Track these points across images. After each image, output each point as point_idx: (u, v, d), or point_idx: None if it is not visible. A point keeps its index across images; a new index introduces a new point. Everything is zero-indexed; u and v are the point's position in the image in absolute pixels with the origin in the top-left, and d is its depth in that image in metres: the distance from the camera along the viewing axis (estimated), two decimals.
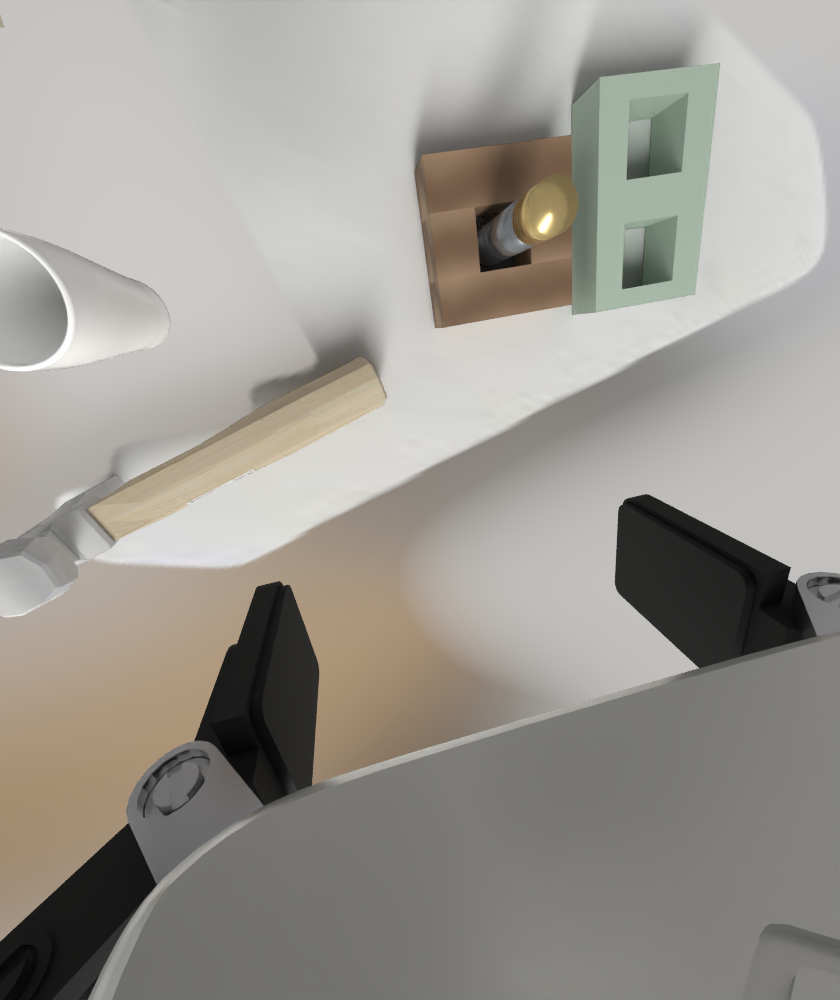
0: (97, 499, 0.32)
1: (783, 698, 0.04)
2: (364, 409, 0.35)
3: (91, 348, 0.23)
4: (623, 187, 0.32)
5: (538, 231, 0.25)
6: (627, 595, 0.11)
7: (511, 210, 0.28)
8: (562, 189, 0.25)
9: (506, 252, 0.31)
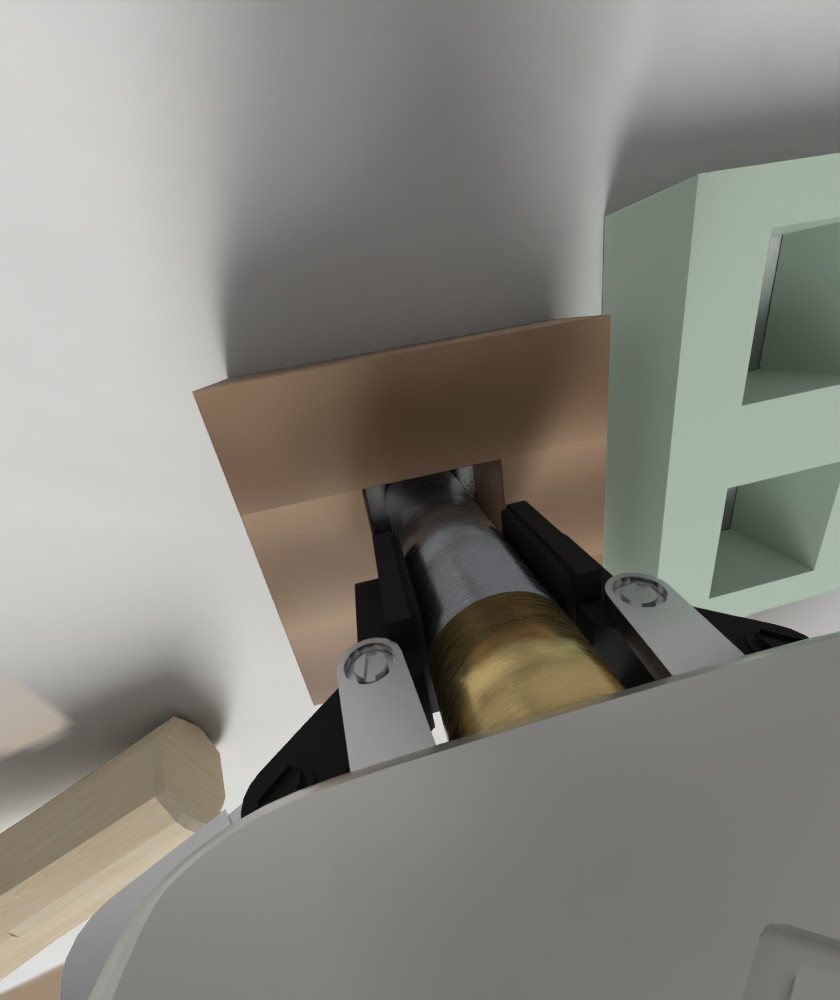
0: None
1: (784, 697, 0.04)
2: None
3: None
4: (733, 421, 0.13)
5: None
6: None
7: (429, 631, 0.08)
8: None
9: None
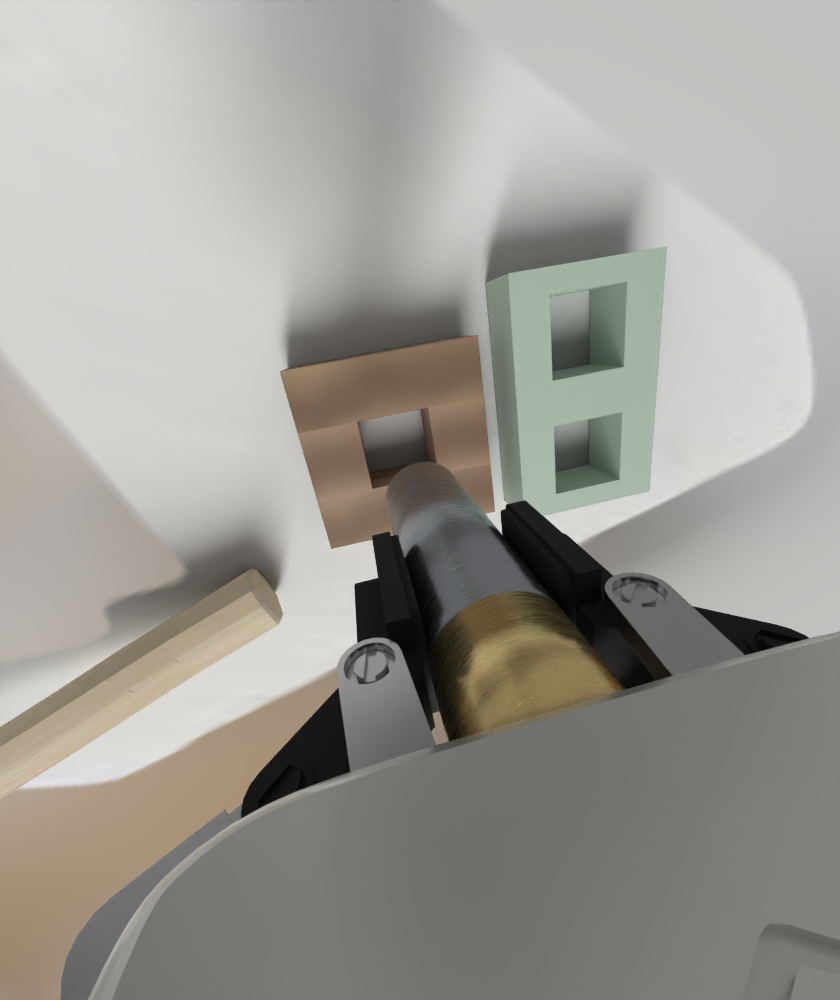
0: None
1: (784, 698, 0.04)
2: (250, 640, 0.28)
3: None
4: (549, 389, 0.26)
5: None
6: None
7: (429, 631, 0.08)
8: None
9: None
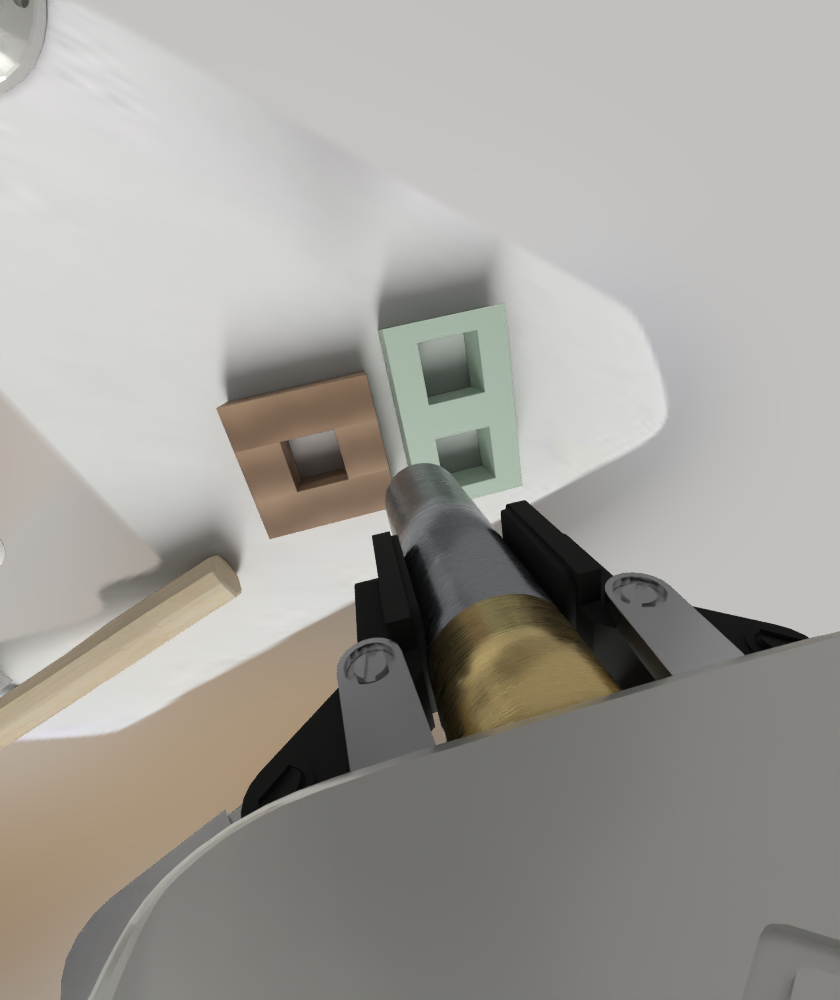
0: None
1: (784, 698, 0.04)
2: (214, 609, 0.36)
3: None
4: (427, 411, 0.34)
5: None
6: None
7: (427, 633, 0.08)
8: None
9: None
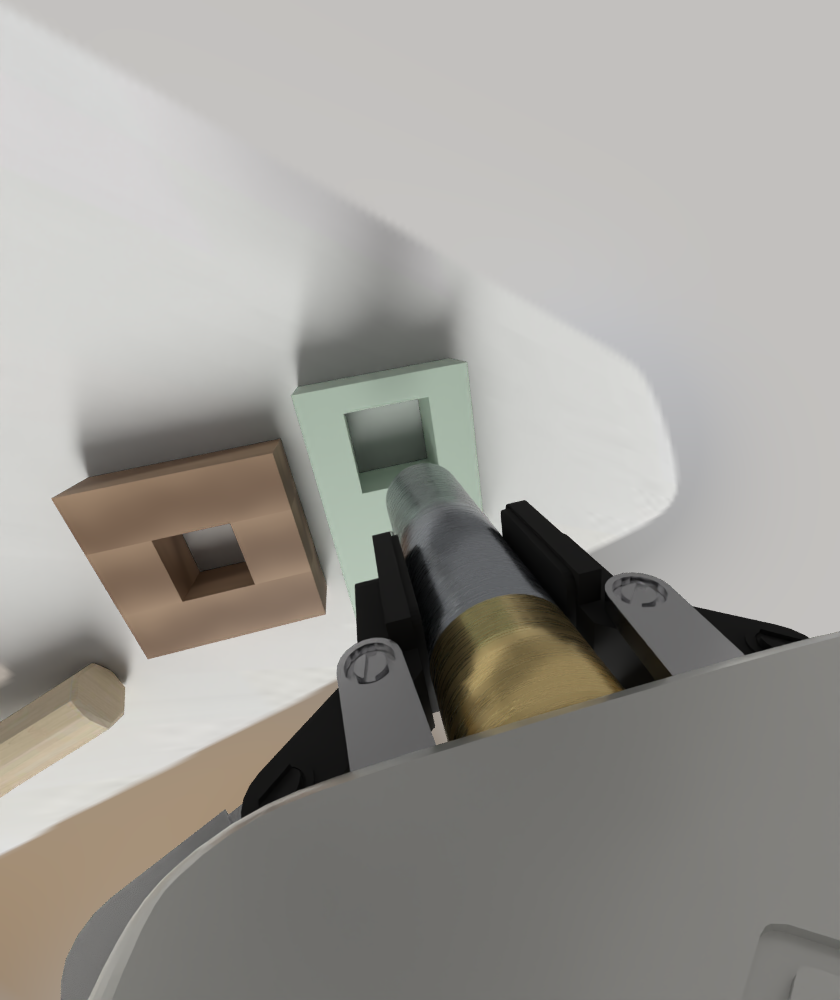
0: None
1: (783, 698, 0.04)
2: (78, 746, 0.27)
3: None
4: (360, 501, 0.25)
5: None
6: None
7: (429, 633, 0.08)
8: None
9: None
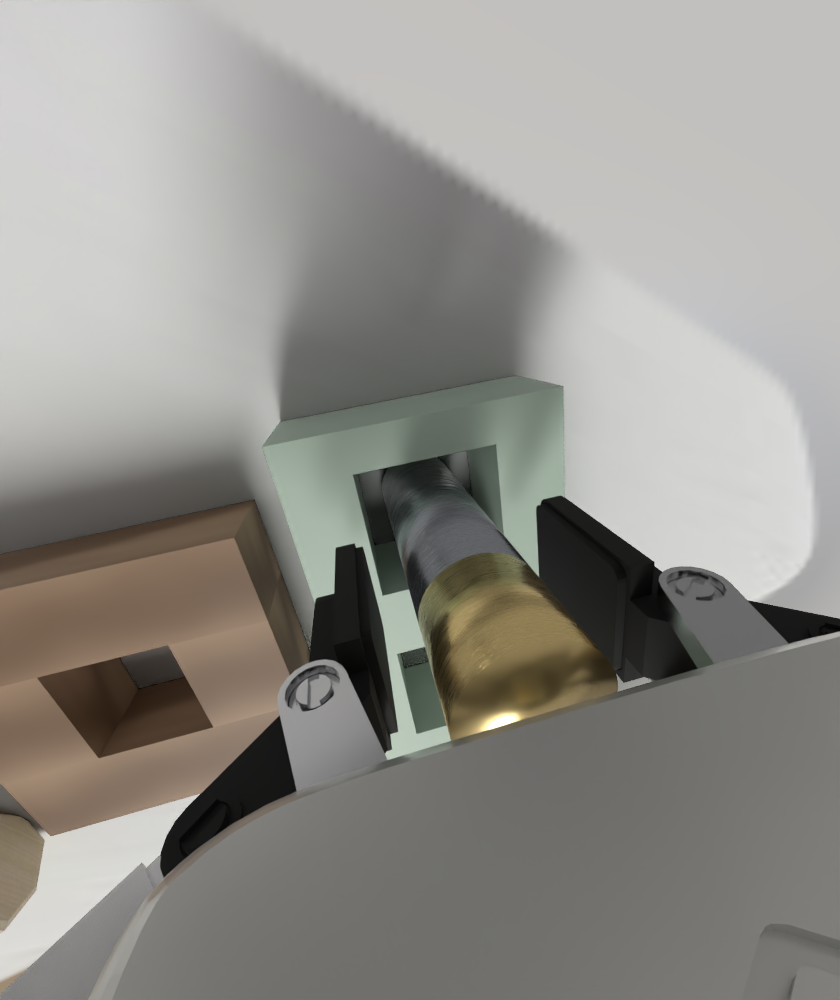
0: None
1: (784, 698, 0.04)
2: None
3: None
4: (379, 607, 0.15)
5: None
6: None
7: (418, 589, 0.10)
8: (563, 674, 0.07)
9: None
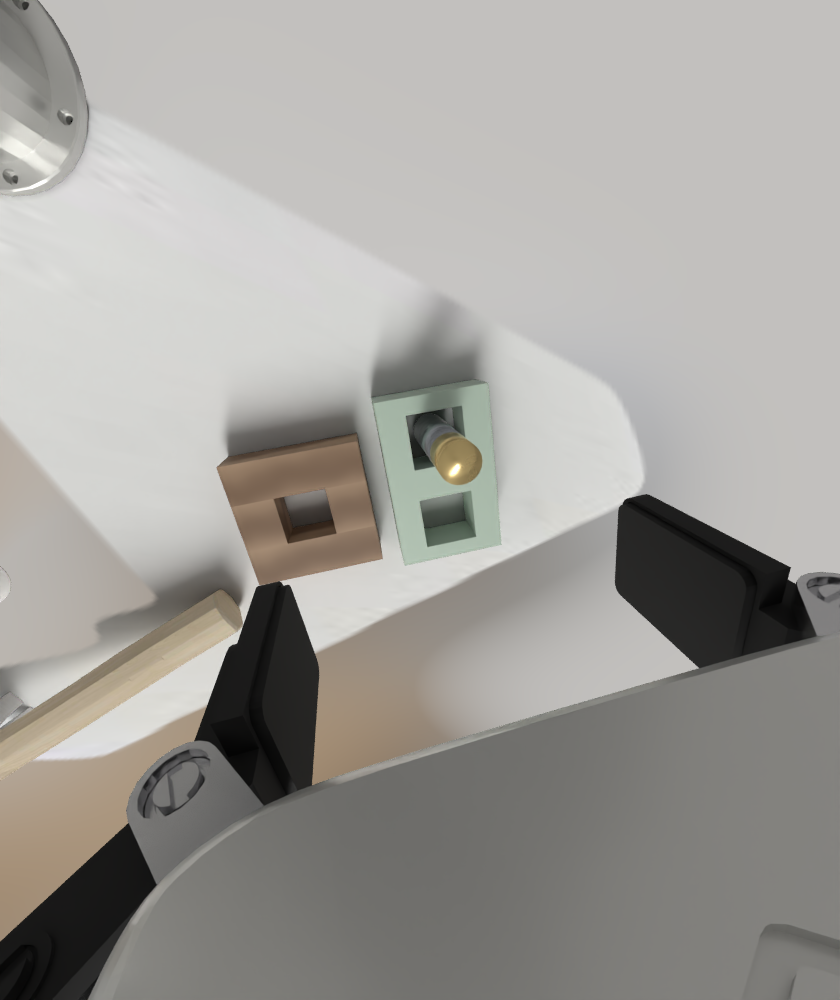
0: None
1: (784, 698, 0.04)
2: (216, 643, 0.38)
3: None
4: (412, 476, 0.36)
5: (447, 481, 0.28)
6: (627, 595, 0.11)
7: (430, 445, 0.30)
8: (466, 451, 0.27)
9: None
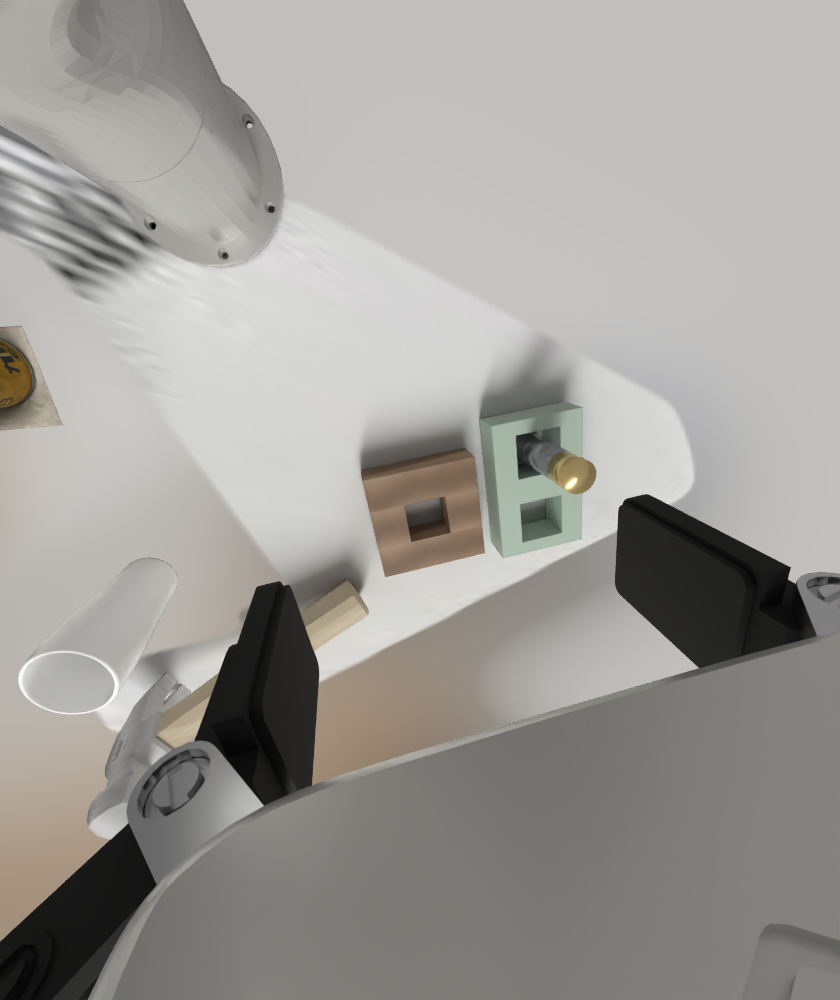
0: (160, 715, 0.43)
1: (784, 698, 0.04)
2: (351, 624, 0.46)
3: None
4: (516, 484, 0.43)
5: (567, 491, 0.36)
6: (627, 595, 0.11)
7: (546, 462, 0.38)
8: (585, 468, 0.35)
9: None
